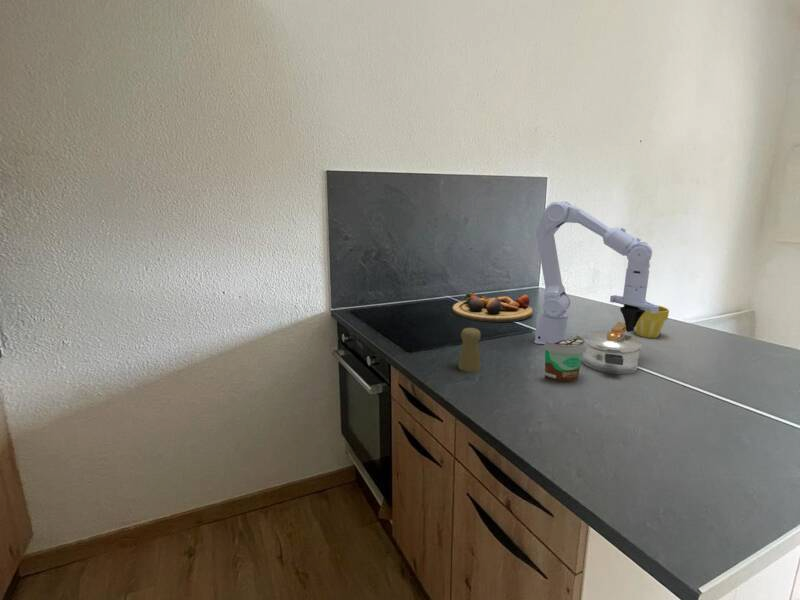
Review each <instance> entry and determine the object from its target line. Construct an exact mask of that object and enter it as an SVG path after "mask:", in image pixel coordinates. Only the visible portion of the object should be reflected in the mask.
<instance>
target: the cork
mask: <svg viewBox="0 0 800 600" xmlns="http://www.w3.org/2000/svg"><path fill="white" fill-rule="evenodd" d="M481 334H482V333H481V331H480V330H479V329H477V328H474V327H466V328H463V329H462V330H461V333H460V338H461V340H462V345H461V349H460V354H459V360H458V366H457V368H458V369H459V370H461V371H462V372H468V373H473V372H474V373H475V372H478V371H480V370H481V359H480V348H479V341H480V340H481Z"/></svg>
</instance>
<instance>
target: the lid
mask: <svg viewBox="0 0 800 600" xmlns="http://www.w3.org/2000/svg"><path fill="white" fill-rule="evenodd" d="M625 332H627V331H626V325H625V322H621V321H618V322H617V323H616V324H615V325H614V326H613V327H612V328H611V330H610V331H602V330H599V331H598V330H597V331H588V332H585V333H584V334H583V336H582V338H583V339H584V340H585V343H586V344H587V345H589V346H591V347H594V348H597V349H600V350H605V351H611V352H620V353H630V352H637V351H639V350H640V351H641V350H642V346H643V342H642V341H641V340H639V339H638V338H636V337H634V336H631V335H628V334H624V333H625ZM640 351H639V352H640Z"/></svg>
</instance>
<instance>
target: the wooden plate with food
mask: <svg viewBox="0 0 800 600" xmlns="http://www.w3.org/2000/svg"><path fill="white" fill-rule="evenodd" d="M463 299H464V300H462V301H458V302H456V303H454V304H453V305H452V308H451V309H452V312H453V313H454V314H455V315H456V316H459V317H461V318H463V319H466V320H467V319H468V320H471V321H477V322H489V323H510V322H511V323H512V322H517V321H522V320H526V319H529V318H530V317H532V316H533V313H534V310H533V308H532V307H531V306H529V305H530V297H529V295H527V294H522V295H520V296H518V297H517V298H515V301H514V300H513V299H512V298H511V297H510V296H506V295H504V296H497V297H488V296H485V295H479V297H478V296H477V294H476V293H474V292H473V291H471V292H469V293H468V292H467V293H465V296H464V298H463Z"/></svg>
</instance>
